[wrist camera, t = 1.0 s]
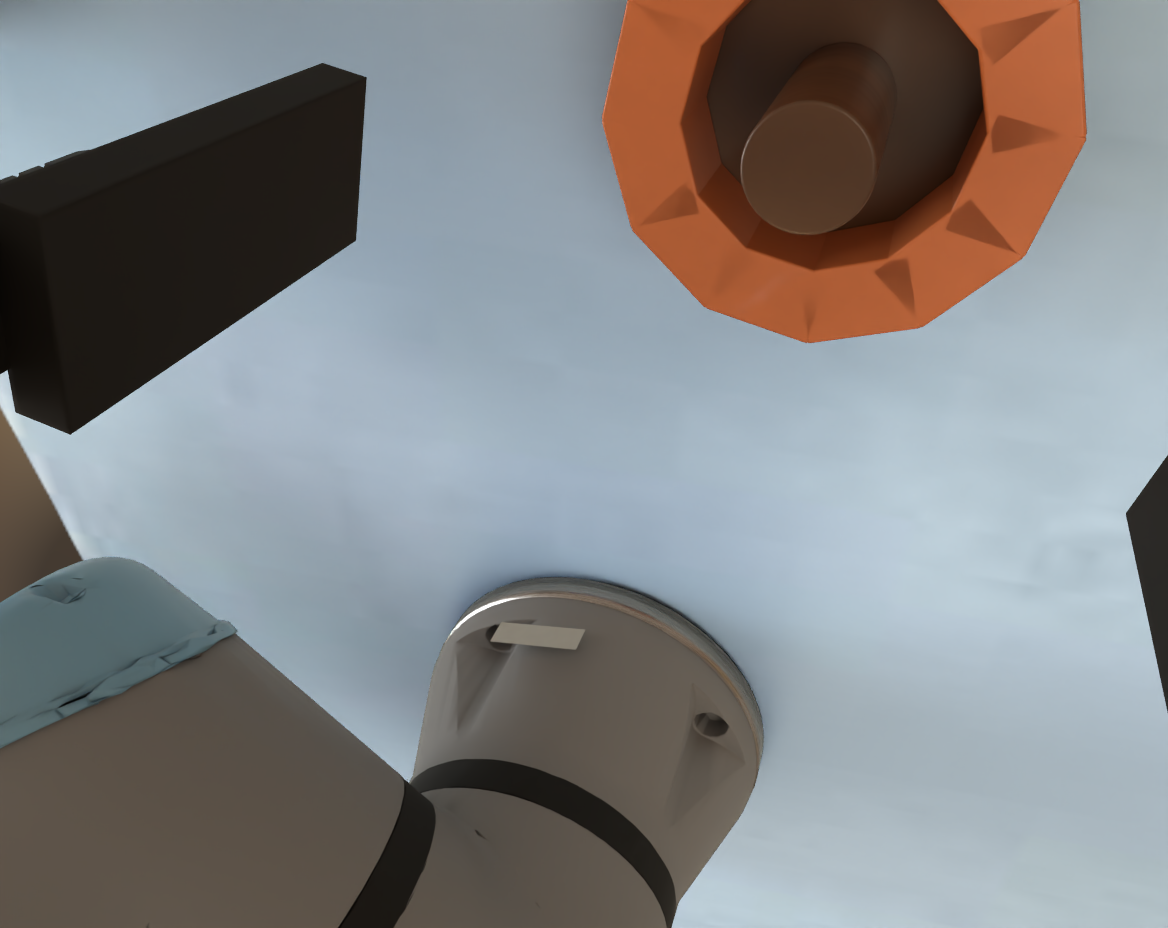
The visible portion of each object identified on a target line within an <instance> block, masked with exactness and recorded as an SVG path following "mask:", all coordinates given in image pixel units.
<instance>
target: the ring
mask: <svg viewBox="0 0 1168 928" xmlns="http://www.w3.org/2000/svg"><path fill="white" fill-rule="evenodd" d="M750 1H751V0H627V4H626V9H625V14H624V18H623V23H622V27H621V32H620V36H619V41H618V46H617V50H616V55H615V59H614V64H613V68H612V73H611V78H610V82H609V87H608V91H607V96H606V101H605V105H604V110H603V114H602V124H603V127H604V131H605V135H606V138H607V142H608V146H609V149H610V153H611V156H612V160H613V164H614V167H615V171H616V175H617V178H618V182H619V185H620V189H621V193H622V196H623V200H624V204H625V207H626V211H627V215H628V218H629V222H630V225H631V228H632V230H633V232H634V233H635V234H636V235H637V236H638V237H639V238H640V239H641V240H642V241H643V242H644V243H645V244H646V246H647V247H648V248H649V249H650V250H651V251H652V252H653V253H654V254H655V255H656V256H657V257H658V258H659V259H660V260H661V262H662V263H663V264H664V265H665V266H666V267H667V268H668V269H669V270H670V271H671V272H672V273H673V274H674V275H675V276H676V277H677V279H678V280H679V281H680V282H681V283H682V284H683V285H684V286H685V287H686V288H687V289H688V290H689V291H690V292H691V293H692V295H693V296H694V297H695V298H696V299H697V300H698V301H699V302H700V303H701V304H702V305H703V306H704V307H706V308H707V309H710V310H713V311H716V312H719V313H721V314H724V315H727V316H730V317H733V318H736V319H739V320H742V321H744V322H747V323H750V324H753V325H756V326H759V327H762V328H765V329H767V330H770V331H773V332H776V333H779V334H782V335H785V336H788V337H790V338H793V339H796V340H799V341H802V342H805V343H807V342H808V343H814V342H821V341H828V340H836V339H843V338H850V337H858V336H865V335H872V334H880V333H887V332H894V331H902V330H909V329H916V328H920V327H923V326H925V325H926V324H928V323H929V322H931V321H932V320H933V319H935V318H936V317H938V316H939V315H941V314H942V313H944V312H945V311H947V310H948V309H950V308H951V307H952V306H954V305H955V304H957V303H958V302H960V301H961V300H963V299H964V298H966V297H967V296H968V295H970V294H971V293H973V292H974V291H976V290H977V289H979V288H980V287H982V286H983V285H984V284H986V283H987V282H989V281H990V280H992V279H993V278H995V277H996V276H998V275H999V274H1000V273H1002V272H1003V271H1005V270H1006V269H1008V268H1009V267H1011V266H1012V265H1014V264H1015V263H1017V262H1018V261H1019V260H1021V259H1022V258H1023V257H1024V256H1025V255H1026V253H1027V251H1028V249H1029V247H1030V246H1031V244H1032V242H1033V240H1034V238H1035V236H1036V234H1037V232H1038V230H1039V228H1040V227H1041V225H1042V223H1043V221H1044V219H1045V217H1046V215H1047V213H1048V211H1049V209H1050V208H1051V206H1052V204H1053V202H1054V200H1055V198H1056V196H1057V194H1058V192H1059V190H1060V189H1061V187H1062V185H1063V183H1064V181H1065V179H1066V177H1067V175H1068V173H1069V171H1070V170H1071V168H1072V166H1073V164H1074V162H1075V160H1076V158H1077V156H1078V154H1079V152H1080V150H1081V149H1082V147H1083V145H1084V143H1085V141H1086V134H1087V129H1086V111H1085V92H1084V74H1083V55H1082V37H1081V18H1080V2H1079V0H938V2H939V3H940V4H941V5H942V7H943V8H944V9H945V10H946V12H947V13H948V14H949V15H950V16H951V18H952V19H953V20H954V21H955V23H956V24H957V25H958V26H959V27H960V29H961V30H962V31H963V32H964V34H965V35H966V36H967V37H968V38H969V40H970V41H971V42H972V43H973V45H974V46H975V47H976V48H977V49H978V56H979V66H980V76H981V86H982V96H983V106H984V108H983V110H982V112H981V115H980V117H979V119H978V121H977V123H976V126H975V128H974V130H973V132H972V135H971V137H970V139H969V141H968V143H967V146H966V148H965V150H964V152H963V154H962V157H961V159H960V161H959V163H958V165H957V168H956V170H955V172H954V174H953V175H952V176H951V177H950V178H949V179H947V180H946V181H945V182H943V183H942V184H941V185H940V186H938V187H937V188H936V189H934V190H933V191H932V192H931V193H929V194H928V195H927V196H925V197H924V198H923V199H922V200H920V201H919V202H918V203H916V204H915V205H914V206H913V207H911V208H910V209H909V210H907V211H906V212H905V213H904V214H902V215H901V216H900V217H898V218H897V219H896V220H893V221H887V222H882V223H876V224H871V225H865V226H860V227H854V228H849V229H843V230H838V231H832V232H825V233H821V234H815V235H798V234H792V233H788V232H785V231H782V230H780V229H777V228H775V227H774V226H772V225H770V224H769V223H767V222H766V221H765V220H763V219H762V218H761V217H760V216H759V215H758V214H757V213H756V211H755V210H754V209H753V208H752V206H751V205H750V203H749V201H748V200H747V197H746V195H745V193H744V190H743V186H742V185H741V184H740V183H739V182H738V181H737V180H736V179H735V178H734V176H733V175H732V174H731V173H730V172H729V171H728V170H727V169H726V168H725V167H724V165H723V164H722V163H721V159H720V155H719V150H718V146H717V141H716V137H715V132H714V128H713V123H712V119H711V115H710V110H709V106H708V101H707V93H708V90H709V86H710V83H711V79H712V76H713V72H714V68H715V65H716V61H717V58H718V54H719V51H720V47H721V43H722V40H723V36H724V33H725V29H726V26H727V25H728V24H729V23H730V22H731V21H732V20H733V19H734V18H735V16H736V15H737V14H738V13H739V12H740V11H741V10H742V9H743V8H744V7H745V6H746V5H747V4H748V3H749V2H750Z"/></svg>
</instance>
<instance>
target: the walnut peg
mask: <svg viewBox="0 0 1168 928" xmlns="http://www.w3.org/2000/svg"><path fill="white" fill-rule="evenodd" d="M707 101H708V106H709V110H710V115H711V119H712V123H713V128H714V132H715V137H716V141H717V146H718V150H719V155H720V159H721V163H722V164H723V165H724V167H725V168H726V169H727V170H728V171H729V172H730V173H731V174H732V175H733V176H734V178H735V179H736V180H737V181H738V182H739V183H740V184H741V185H742V186H743V190H744V193H745V195H746V197H747V200H748V201H749V203H750V205H751V206H752V208H753V209H754V210H755V211H756V213H757V214H758V215H759V216H760V217H761V218H762V219H763V220H765V221H766V222H767V223H769V224H770V225H772V226H774V227H775V228H777V229H780V230H782V231H785V232H788V233H792V234H798V235H815V234H821V233H825V232H832V231H838V230H843V229H849V228H854V227H860V226H865V225H871V224H876V223H882V222H887V221H893V220H896V219H897V218H898V217H900V216H901V215H902V214H904V213H905V212H906V211H907V210H909V209H910V208H911V207H913V206H914V205H915V204H916V203H918V202H919V201H920V200H922V199H923V198H924V197H925V196H927V195H928V194H929V193H931V192H932V191H933V190H934V189H936V188H937V187H938V186H940V185H941V184H942V183H943V182H945V181H946V180H947V179H949V178H950V177H951V176H952V175H953V174H954V172H955V170H956V168H957V165H958V163H959V161H960V159H961V157H962V154H963V152H964V150H965V148H966V146H967V143H968V141H969V139H970V137H971V135H972V132H973V130H974V128H975V126H976V123H977V121H978V119H979V117H980V115H981V112H982V110H983V108H984V106H983V96H982V86H981V76H980V66H979V56H978V49H977V48H976V47H975V46H974V45H973V43H972V42H971V41H970V40H969V38H968V37H967V36H966V35H965V34H964V32H963V31H962V30H961V29H960V27H959V26H958V25H957V24H956V23H955V21H954V20H953V19H952V18H951V16H950V15H949V14H948V13H947V12H946V10H945V9H944V8H943V7H942V5H941V4H940V3H939V2H938V0H751V1H750V2H749V3H748V4H747V5H746V6H745V7H744V8H743V9H742V10H741V11H740V12H739V13H738V14H737V15H736V16H735V18H734V19H733V20H732V21H731V22H730V23H729V24H728V25H727V26H726V29H725V33H724V36H723V40H722V43H721V47H720V51H719V54H718V58H717V61H716V65H715V68H714V72H713V76H712V79H711V83H710V86H709V90H708V93H707Z"/></svg>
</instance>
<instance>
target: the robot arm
mask: <svg viewBox="0 0 1168 928" xmlns="http://www.w3.org/2000/svg"><path fill="white" fill-rule="evenodd" d="M366 78H367V77H364V76H361V75H358V74H355V73H352V72H348V71H345V70H342V69H339V68H336V67H333V66H330V65H327V64H324V63H321V64H319V65H316V66H313V67H311V68H308V69H305V70H303V71H300V72H297V73H295V74H292V75H289V76H287V77H284V78H281V79H279V80H276V81H273V82H271V83H268V84H265V85H263V86H260V87H257V88H255V89H252V90H249V91H247V92H244V93H241V94H239V95H236V96H233V97H231V98H228V99H225V100H223V101H220V102H217V103H215V104H212V105H209V106H207V107H204V108H201V109H199V110H196V111H193V112H191V113H188V114H185V115H183V116H180V117H177V118H175V119H172V120H169V121H167V122H164V123H161V124H159V125H156V126H153V127H151V128H148V129H145V130H143V131H140V132H137V133H135V134H132V135H129V136H127V137H124V138H121V139H119V140H116V141H113V142H111V143H108V144H105V145H103V146H100V147H97V148H95V149H92V150H85V151H78V152H74V153H72V154H69V155H66V156H64V157H61V158H58V159H56V160H53V161H50V162H47V163H45V166H44V168H43V167H41V166H37V167H34V168H31V169H29V170H26V171H23V172H21V173H19V176H18V177H15V176H10V177H7V178H4V179H2V180H0V374H1V373H3V372H5V371H7V370H8V374H9V380H10V385H11V390H12V396H13V401H14V407H15V412H16V413H18V414H21V415H23V416H26V417H28V418H31V419H33V420H36V421H38V422H41V423H43V424H46V425H48V426H50V427H53V428H55V429H58V430H60V431H63V432H65V433H68V434H70V435H71V434H72V433H73V432H75V431H76V430H78V429H79V428H81V427H82V426H84V425H85V424H87V423H88V422H90V421H91V420H93V419H94V418H96V417H97V416H98V415H100V414H101V413H103V412H104V411H106V410H107V409H109V408H110V407H112V406H113V405H115V404H116V403H118V402H119V401H121V400H122V399H123V398H125V397H126V396H128V395H129V394H131V393H132V392H134V391H135V390H137V389H138V388H140V387H141V386H143V385H144V384H146V383H147V382H148V381H150V380H151V379H153V378H154V377H156V376H157V375H159V374H160V373H162V372H163V371H165V370H166V369H168V368H169V367H171V366H172V365H173V364H175V363H176V362H178V361H179V360H181V359H182V358H184V357H185V356H187V355H188V354H190V353H191V352H193V351H194V350H196V349H197V348H198V347H200V346H201V345H203V344H204V343H206V342H207V341H209V340H210V339H212V338H213V337H215V336H216V335H218V334H219V333H221V332H222V331H223V330H225V329H226V328H228V327H229V326H231V325H232V324H234V323H235V322H237V321H238V320H240V319H241V318H243V317H244V316H246V315H247V314H248V313H250V312H251V311H253V310H254V309H256V308H257V307H259V306H260V305H262V304H263V303H265V302H266V301H268V300H269V299H271V298H272V297H273V296H275V295H276V294H278V293H279V292H281V291H282V290H284V289H285V288H287V287H288V286H290V285H291V284H293V283H294V282H296V281H297V280H298V279H300V278H301V277H303V276H304V275H306V274H307V273H309V272H310V271H312V270H313V269H315V268H316V267H318V266H319V265H321V264H322V263H323V262H325V261H326V260H328V259H329V258H331V257H332V256H334V255H335V254H337V253H338V252H340V251H341V250H343V249H344V248H346V247H347V246H348V245H350V244H351V243H353V242H354V241H356V232H357V216H358V201H359V185H360V170H361V155H362V139H363V124H364V109H365V93H366ZM1126 517H1127V522H1128V526H1129V531H1130V536H1131V541H1132V545H1133V550H1134V555H1135V560H1136V564H1137V569H1138V574H1139V579H1140V583H1141V588H1142V593H1143V598H1144V602H1145V607H1146V612H1147V616H1148V621H1149V626H1150V631H1151V635H1152V640H1153V645H1154V650H1155V654H1156V659H1157V664H1158V669H1159V673H1160V678H1161V683H1162V688H1163V692H1164V697H1165V702H1166V706H1167V711H1168V456H1167V457H1166V458H1165V460H1164V461H1163V462H1162V464H1161V465H1160V467H1159V468H1158V469H1157V471H1156V472H1155V474H1154V475H1153V476H1152V478H1151V479H1150V481H1149V482H1148V483H1147V485H1146V486H1145V488H1144V489H1143V490H1142V492H1141V493H1140V495H1139V496H1138V497H1137V499H1136V500H1135V502H1134V503H1133V504H1132V506H1131V507H1130V508H1129V510H1128V511H1127V513H1126ZM236 632H237V629H236V628H235V627H234V626H233V625H232V624H231V623H230V622H229V621H225V620H217V619H216V618H214V617H213V616H212V615H211V614H209V613H208V612H207V611H205V610H204V609H203V608H202V607H200V606H199V605H198V604H196V603H195V602H194V601H192V600H191V599H190V598H189V597H187V596H186V595H185V594H183V593H182V592H181V591H180V590H178V589H177V588H176V587H174V586H173V585H172V584H170V583H169V582H168V581H167V580H165V579H164V578H163V577H161V576H160V575H159V574H158V573H156V572H155V571H154V570H152V569H150V568H149V567H147V566H145V565H144V564H141V563H139V562H137V561H134V560H130V559H126V558H120V557H101V558H94V559H88V560H85V561H81V562H78V563H76V564H73V565H71V566H68V567H65V568H63V569H60V570H58V571H56V572H54V573H52V574H50V575H48V576H46V577H44V578H42V579H40V580H38V581H36V582H35V583H33V584H31V585H29V586H27V587H26V588H24V589H22V590H20V591H19V592H17V593H15V594H14V595H12V596H10V597H9V598H7V599H5V600H4V601H2V602H1V603H0V928H671V927H672V923H673V920H674V916H675V913H676V910H677V906H678V903H679V901H680V900H681V898H682V897H683V895H684V894H685V893H686V891H687V890H688V888H689V887H690V886H691V884H692V883H693V881H694V880H695V879H696V877H697V876H698V875H699V873H700V872H701V870H702V869H703V868H704V866H705V865H706V863H707V862H708V861H709V859H710V858H711V856H712V855H713V854H714V852H715V851H716V849H717V848H718V847H719V845H720V844H721V842H722V841H723V840H724V838H725V837H726V836H727V834H728V833H729V831H730V830H731V829H732V827H733V826H734V824H735V823H736V822H737V820H738V819H739V817H740V816H741V814H742V812H743V811H744V808H745V806H746V804H747V802H748V800H749V797H750V795H751V793H752V791H753V788H754V786H755V782H756V778H757V774H758V770H759V766H760V761H761V757H762V752H763V743H764V737H763V725H762V719H761V715H760V711H759V708H758V705H757V702H756V700H755V697H754V695H753V693H752V691H751V689H750V687H749V685H748V683H747V682H746V680H745V678H744V677H743V675H742V674H741V672H740V671H739V669H738V668H737V667H736V665H735V664H734V663H733V662H732V660H731V659H730V658H729V657H728V656H727V654H726V653H725V652H724V651H723V650H722V649H721V648H720V647H719V646H718V645H717V644H716V643H715V642H714V641H713V640H712V639H711V638H709V637H708V636H707V635H706V634H705V633H704V632H702V631H701V630H700V629H699V628H697V627H696V626H695V625H693V624H692V623H691V622H689V621H688V620H686V619H685V618H683V617H682V616H680V615H679V614H677V613H675V612H674V611H672V610H671V609H669V608H667V607H665V606H663V605H661V604H659V603H657V602H655V601H653V600H651V599H649V598H647V597H644V596H642V595H640V594H637V593H635V592H632V591H629V590H626V589H623V588H621V587H617V586H613V585H610V584H606V583H602V582H597V581H592V580H586V579H578V578H567V577H546V578H534V579H528V580H522V581H518V582H514V583H510V584H507V585H505V586H502V587H499V588H497V589H495V590H493V591H491V592H489V593H487V594H485V595H484V596H483V597H481V598H480V599H478V600H477V601H476V602H474V603H473V604H472V605H471V606H470V607H469V608H468V609H467V610H466V611H465V613H464V614H463V615H462V616H461V617H460V619H459V621H458V622H457V624H456V625H455V627H454V628H453V630H452V631H451V633H450V635H449V636H448V638H447V639H446V641H445V643H444V644H443V647H442V649H441V652H440V654H439V656H438V659H437V661H436V664H435V667H434V669H433V673H432V677H431V682H430V687H429V692H428V698H427V703H426V708H425V713H424V719H423V724H422V729H421V734H420V740H419V745H418V750H417V756H416V761H415V766H414V771H413V776H412V778H411V780H410V782H409V783H408V782H407V781H406V780H404V779H403V778H402V776H401V775H400V774H399V773H398V772H396V771H395V770H394V769H393V768H392V767H391V766H389V765H388V764H387V763H386V762H385V761H384V760H382V759H381V758H380V757H379V756H378V755H377V754H375V753H374V752H373V751H372V750H371V749H370V748H368V747H367V746H366V745H365V744H364V743H363V742H361V741H360V740H359V739H358V738H357V737H356V736H354V735H353V734H352V733H351V732H350V731H349V730H347V729H346V728H345V727H344V726H343V725H342V724H340V723H339V722H338V721H337V720H336V719H335V718H333V717H332V716H331V715H330V714H329V713H328V712H326V711H325V710H324V709H323V708H322V707H321V706H319V705H318V704H317V703H316V702H315V701H314V700H312V699H311V698H310V697H309V696H308V695H307V694H305V693H304V692H303V691H302V690H301V689H300V688H298V687H297V686H296V685H295V684H294V683H293V682H291V681H290V680H289V679H288V678H287V677H286V676H284V675H283V674H282V673H281V672H280V671H279V670H277V669H276V668H275V667H274V666H273V665H272V664H270V663H269V662H268V661H267V660H266V659H265V658H263V657H262V656H261V655H260V654H259V653H258V652H256V651H255V650H254V649H253V648H252V647H251V646H249V645H248V644H247V643H246V642H245V641H244V640H242V639H241V638H240V637H239V636H238V635H237V634H235V633H236Z"/></svg>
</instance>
